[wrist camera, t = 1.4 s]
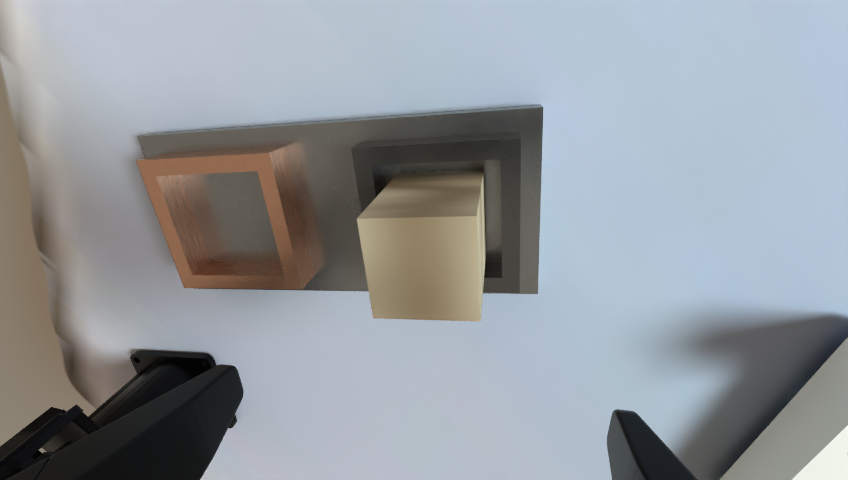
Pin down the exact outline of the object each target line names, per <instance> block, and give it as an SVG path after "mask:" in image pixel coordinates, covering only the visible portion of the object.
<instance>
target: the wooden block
mask: <svg viewBox="0 0 848 480" xmlns="http://www.w3.org/2000/svg"><path fill="white" fill-rule="evenodd" d="M357 224H358V230H359V236H360V242H361V248H362V254H363V260H364V266H365V272H366V278H367V284H368V290H369V296H370V302H371V308H372V314H373V318H384V319H417V320H451V321H481V309H482V296H483V284H484V271H485V259H486V224H485V189H484V169H479V170H456V171H434V172H411V173H398V174H397V175H396V176H395V177H394V178H393V179H392V180H391V182H390V183H389V184H388V185H387V186H386V187H385V188H384V189H383V190H382V191H381V193H380V194H379V195H378V196H377V197H376V198H375V199H374V200H373V201H372V202H371V204H370V205H369V206H368V207H367V208H366V209H365V210H364V211H363V212H362V213H361V215H360V216H359V217H358V218H357Z"/></svg>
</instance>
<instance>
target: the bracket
mask: <svg viewBox="0 0 848 480" xmlns="http://www.w3.org/2000/svg"><path fill="white" fill-rule="evenodd" d="M720 480H848V337H847V338H846V340H845V341H844V342H843V343H842V344H841V345H840V346H839V347H838V348H837V350H836V351H835V352H834V353H833V354H832V355H831V356H830V357H829V358H828V360H827V361H826V362H825V363H824V364H823V365H822V366H821V367H820V368H819V370H818V371H817V372H816V373H815V374H814V375H813V376H812V377H811V379H810V380H809V381H808V382H807V383H806V384H805V385H804V386H803V387H802V389H801V390H800V391H799V392H798V393H797V394H796V395H795V396H794V397H793V399H792V400H791V401H790V402H789V403H788V404H787V405H786V406H785V407H784V409H783V410H782V411H781V412H780V413H779V414H778V415H777V416H776V417H775V419H774V420H773V421H772V422H771V423H770V424H769V425H768V426H767V427H766V429H765V430H764V431H763V432H762V433H761V434H760V435H759V436H758V437H757V439H756V440H755V441H754V442H753V443H752V444H751V445H750V446H749V447H748V449H747V450H746V451H745V452H744V453H743V454H742V455H741V456H740V458H739V459H738V460H737V461H736V462H735V463H734V464H733V465H732V466H731V468H730V469H729V470H728V471H727V472H726V473H725V474H724V475H723V476H722V478H721V479H720Z"/></svg>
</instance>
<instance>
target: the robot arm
mask: <svg viewBox="0 0 848 480" xmlns="http://www.w3.org/2000/svg"><path fill="white" fill-rule="evenodd" d="M130 359H131V361H132V363H133V366H134V368H135V370H136V372H137V375H136V376H135V377H134V378H133V379H131V380H130V381H129V382H128V383H127V384H126V385H124V386H123V387H122V388H121V389H120V390H119V391H118V392H116V393H115V394H114V395H113V396H112V397H111V398H109V399H108V400H107V401H106V402H105V403H104V404H102V405H101V406H100V407H99V408H98V409H97V410H96V411H94V412H93V413H92V414H91V415H90V416H89V417H87V416H86V415H85V414H84V413H83V410H82V409H81V408H80V407H79V406H78V405H75V406H74V407H72V408H71V409H69V410H68V411H67V412H66V411H65V410H61V409H57V408H53V407H51V408H50V409H49V410H47V411H46V412H44V413H43V414H42V415H41V416H39V417H38V418H37V419H35V420H34V421H33V422H32V423H30V424H29V425H28V426H26V427H25V428H24V429H22V430H21V431H20V432H19V433H17V434H16V435H15V436H13V437H12V438H11V439H10V440H8V441H7V442H6V443H4V444H3V445H2V446H1V447H0V480H200V479H201V477H202V476H203V474H204V472H205V471H206V469H207V467H208V466H209V464H210V462H211V460H212V459H213V457H214V455H215V453H216V451H217V449H218V447H219V445H220V443H221V441H222V439H223V437H224V435H225V433H226V431H227V429H228V428H232V427H233V426H234V425H235V424H236V422H237V419H236V416H235V413H236V411H237V409H238V406H239V404H240V402H241V400H242V397H243V387H242V383H241V380H240V377H239V373H238V370H237V368H236V367H235V366H231V365H217V366H216V363H215V360H214V359H213V358H212V357H211V356H209V355H205V354H186V353H167V352H149V351H136V352H135V353H134V354H133V355H131V357H130ZM41 447H42V448H43V449H44V450H45V451H47V452H44V453H41V452H40V451H39V449H40V448H41ZM607 448H608V454H609V461H610V468H611V474H612V480H697V479H696V478H695V477H694V475H693V474H692V473H691V472H690V471H689V470H688V469H687V468H686V467H685V466H684V465H683V463H682V462H681V461H680V460H679V459H678V458H677V457H676V456H675V455H674V454H673V452H672V451H671V450H670V449H669V448H668V447H667V446H666V445H665V444H664V443H663V442H662V440H661V439H660V438H659V437H658V436H657V435H656V434H655V433H654V432H653V431H652V430H651V428H650V427H649V426H648V425H647V424H646V423H645V422H644V421H643V420H642V419H641V417H640V416H639V415H638V414H637V413H635V412H633V411H627V410H618V409H617V410H614V411H613V413H612V417H611V421H610V426H609V431H608V435H607Z"/></svg>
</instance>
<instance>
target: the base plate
mask: <svg viewBox="0 0 848 480" xmlns="http://www.w3.org/2000/svg"><path fill="white" fill-rule="evenodd" d="M542 129H543V106H542V105H531V106H517V107H504V108H490V109H477V110H463V111H449V112H436V113H422V114H408V115H395V116H381V117H368V118H354V119H340V120H327V121H313V122H299V123H286V124H272V125H259V126H245V127H231V128H218V129H204V130H190V131H177V132H163V133H152V134H147V135H142V136H138V139H139V142H140V144H141V147H142V150H143V153H144V155H145V158H144V159H140V160H137V161H136V162H137V165H138V167H139V170H140V172H141V175H142V178H143V180H144V183H145V186H146V188H147V191H148V194H149V196H150V199H151V202H152V204H153V207H154V209H155V212H156V215H157V217H158V220H159V223H160V225H161V228H162V231H163V233H164V236H165V239H166V241H167V244H168V246H169V249H170V252H171V254H172V257H173V260H174V262H175V265H176V268H177V270H178V273H179V276H180V278H181V281H182V283H183V286H184V288H198V289H261V290H323V291H369V290H368V284H367V278H366V272H365V266H364V260H363V254H362V248H361V242H360V236H359V230H358V224H357V218H358V217H359V216H360V215H361V213H362V212H363V211H364V210H365V209H366V208H367V207H368V206H369V205H370V204H371V202H372V201H373V200H374V199H375V198H376V197H377V196H378V195H379V194H380V193H381V191H382V190H383V189H384V188H385V187H386V186H387V185H388V184H389V183H390V182H391V180H392V179H393V178H394V177H395V176H396V175H397V174H398V173H411V172H434V171H456V170H479V169H484V189H485V224H486V259H485V271H484V284H483V293H511V294H538V265H539V231H540V197H541V163H542Z"/></svg>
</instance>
